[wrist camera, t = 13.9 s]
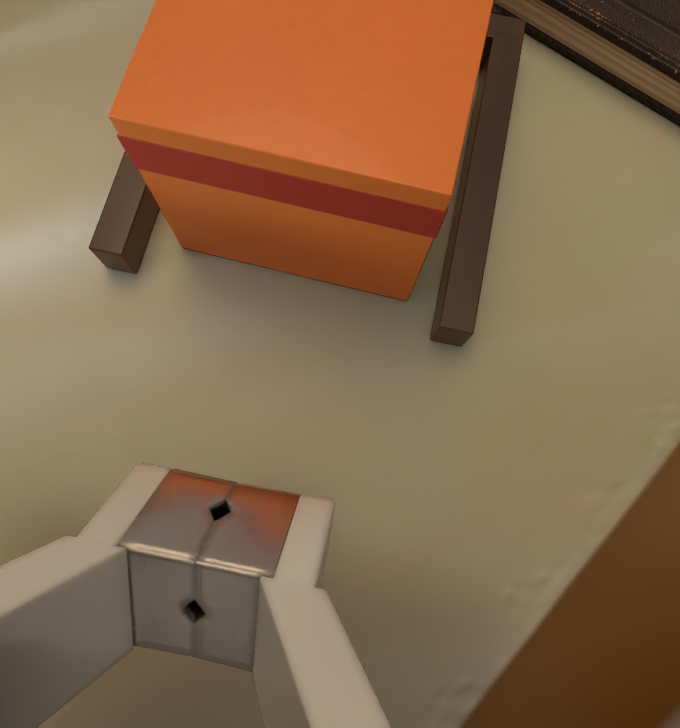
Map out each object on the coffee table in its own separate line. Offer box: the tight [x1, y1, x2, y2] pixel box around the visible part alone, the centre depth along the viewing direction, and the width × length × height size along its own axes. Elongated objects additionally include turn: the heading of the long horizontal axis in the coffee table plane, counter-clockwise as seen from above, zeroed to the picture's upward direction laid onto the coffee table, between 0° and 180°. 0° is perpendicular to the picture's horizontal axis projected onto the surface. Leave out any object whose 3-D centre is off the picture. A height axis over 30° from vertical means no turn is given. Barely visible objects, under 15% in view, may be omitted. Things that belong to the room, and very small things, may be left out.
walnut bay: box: [89, 13, 526, 346], centre depth 26 cm, size 17×17×2 cm
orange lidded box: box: [109, 0, 494, 301], centre depth 22 cm, size 11×13×9 cm
